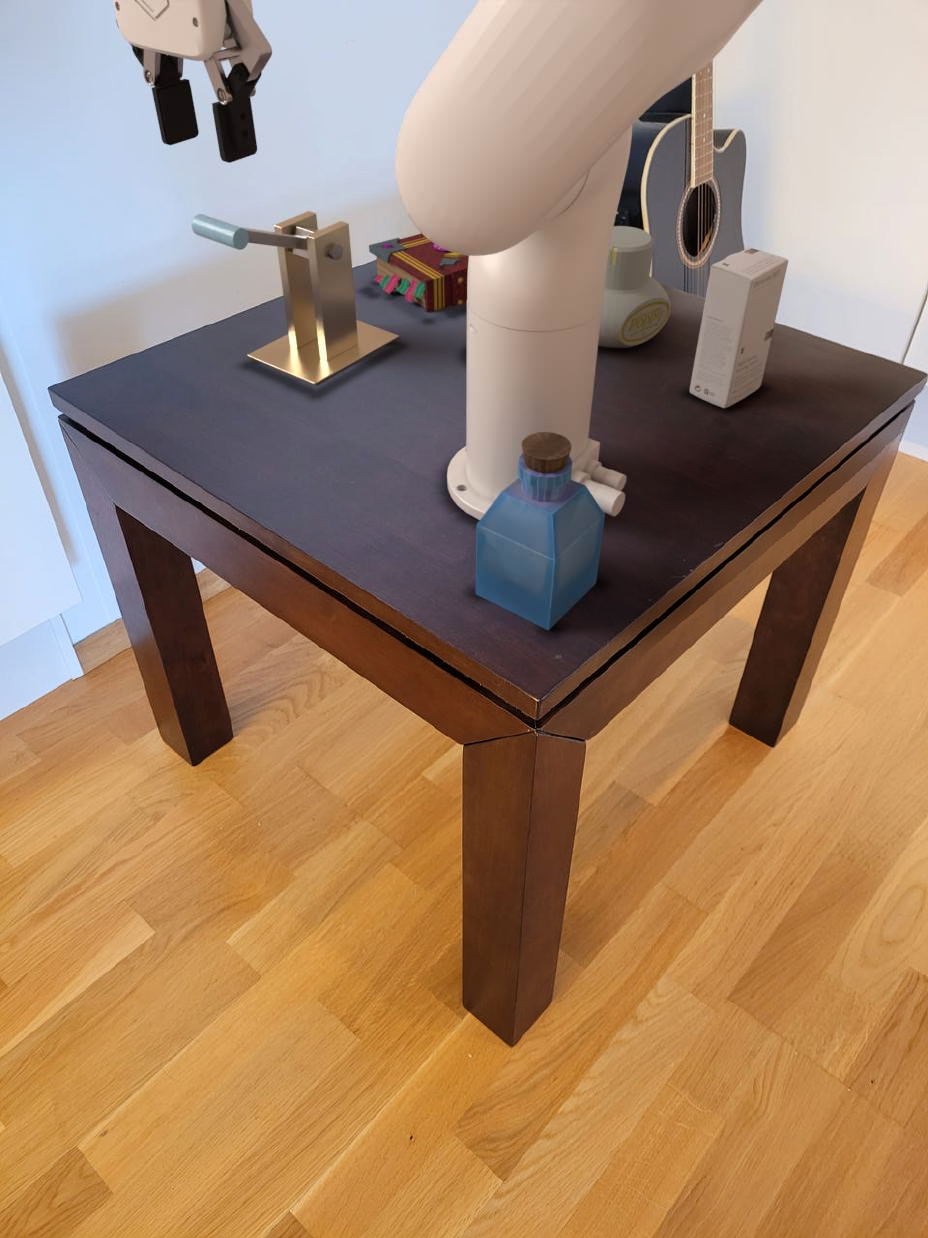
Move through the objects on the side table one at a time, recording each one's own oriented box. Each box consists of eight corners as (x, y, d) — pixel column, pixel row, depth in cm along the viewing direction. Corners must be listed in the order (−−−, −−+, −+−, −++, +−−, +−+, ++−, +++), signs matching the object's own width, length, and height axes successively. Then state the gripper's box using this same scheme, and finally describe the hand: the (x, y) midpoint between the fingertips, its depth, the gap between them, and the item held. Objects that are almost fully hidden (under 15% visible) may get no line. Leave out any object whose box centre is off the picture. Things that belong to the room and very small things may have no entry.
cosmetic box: (726, 410, 86) (754, 280, 77) (685, 393, 88) (708, 264, 80) (763, 386, 89) (794, 258, 80) (722, 370, 91) (748, 244, 83)
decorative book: (540, 287, 105) (543, 242, 101) (418, 325, 98) (417, 278, 94) (479, 253, 111) (480, 210, 108) (362, 287, 104) (358, 242, 101)
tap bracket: (315, 395, 88) (299, 258, 79) (248, 366, 92) (226, 232, 83) (400, 346, 94) (393, 215, 86) (334, 321, 98) (321, 194, 90)
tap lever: (231, 253, 75) (235, 221, 74) (189, 238, 78) (193, 207, 77) (341, 266, 86) (346, 238, 85) (302, 252, 88) (306, 225, 87)
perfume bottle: (548, 630, 65) (561, 485, 56) (475, 594, 67) (477, 450, 59) (595, 583, 68) (614, 440, 60) (525, 550, 71) (533, 409, 63)
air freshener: (602, 367, 91) (614, 265, 85) (544, 336, 96) (550, 237, 89) (678, 334, 96) (695, 235, 90) (619, 306, 101) (631, 210, 94)
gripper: (27, -157, 62) (99, 139, 74) (203, -141, 54) (251, 186, 67) (121, -164, 66) (174, 117, 79) (296, -150, 59) (325, 158, 71)
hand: (209, 146), depth 73 cm, fingers open, 5 cm apart
